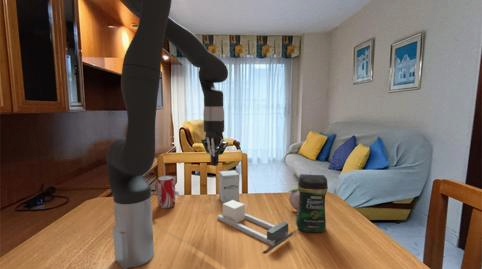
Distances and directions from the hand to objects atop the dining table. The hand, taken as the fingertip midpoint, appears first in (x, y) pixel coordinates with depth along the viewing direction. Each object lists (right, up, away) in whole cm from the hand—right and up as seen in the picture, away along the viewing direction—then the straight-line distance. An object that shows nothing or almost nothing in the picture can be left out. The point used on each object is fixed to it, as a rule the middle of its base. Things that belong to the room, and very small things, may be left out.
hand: (214, 165), depth 95 cm
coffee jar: (+33, -20, -9) cm, 40 cm away
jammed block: (+7, -19, -4) cm, 20 cm away
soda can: (-21, -18, +10) cm, 29 cm away
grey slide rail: (+13, -20, -10) cm, 26 cm away
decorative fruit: (+33, -19, +4) cm, 38 cm away
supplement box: (+5, -17, +15) cm, 23 cm away
